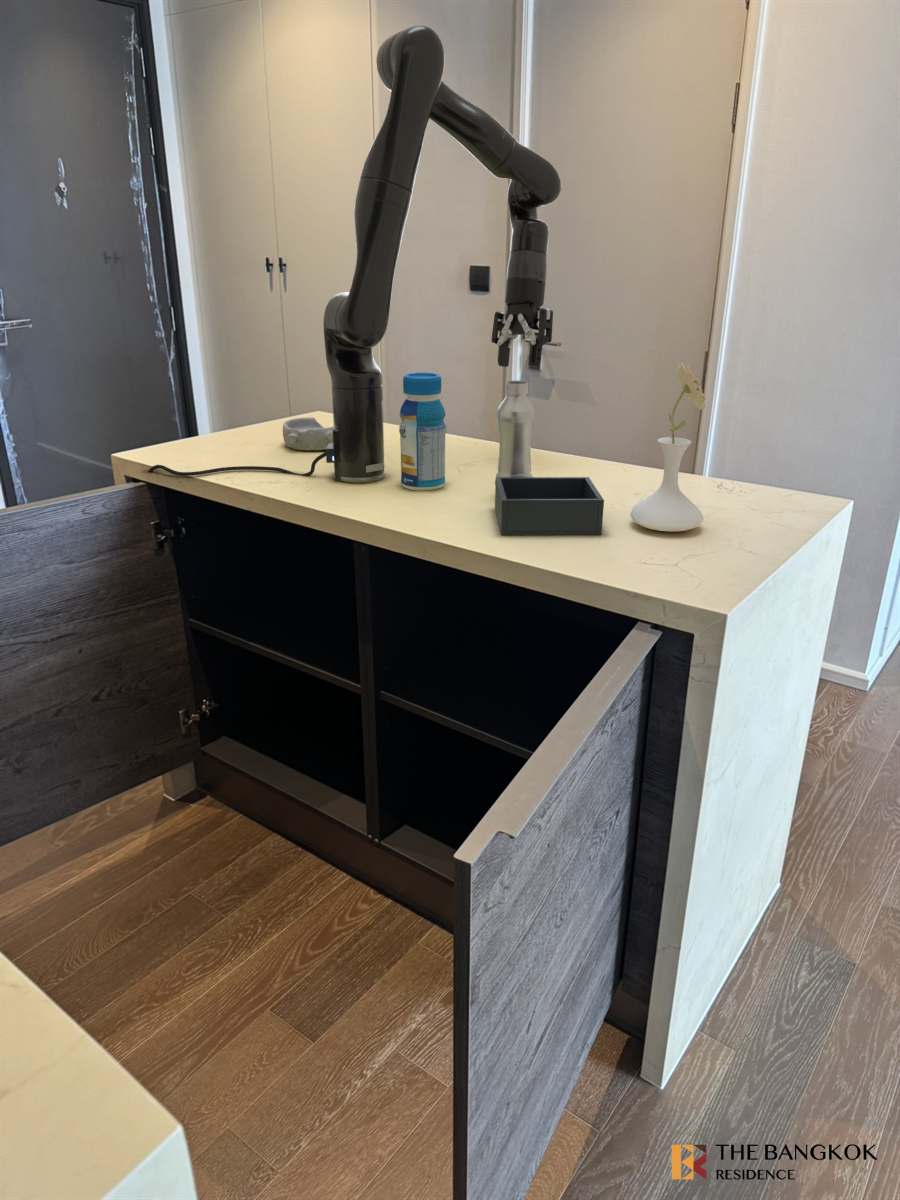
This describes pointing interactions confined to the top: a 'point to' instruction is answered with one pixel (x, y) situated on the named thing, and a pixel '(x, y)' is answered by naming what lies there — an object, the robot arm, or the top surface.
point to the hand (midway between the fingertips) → (518, 366)
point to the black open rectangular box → (548, 506)
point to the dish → (306, 434)
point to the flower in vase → (672, 474)
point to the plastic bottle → (515, 431)
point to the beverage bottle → (422, 433)
